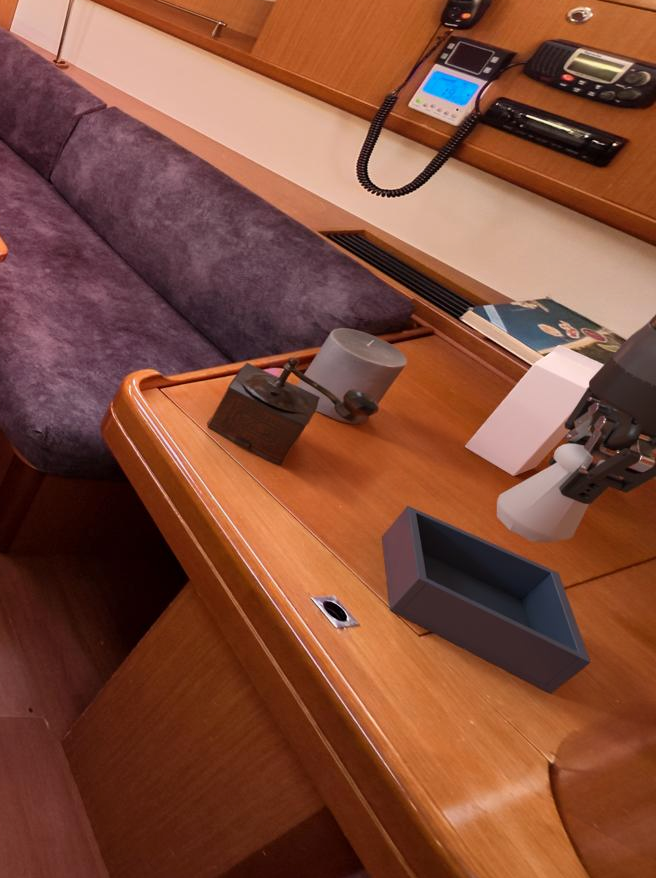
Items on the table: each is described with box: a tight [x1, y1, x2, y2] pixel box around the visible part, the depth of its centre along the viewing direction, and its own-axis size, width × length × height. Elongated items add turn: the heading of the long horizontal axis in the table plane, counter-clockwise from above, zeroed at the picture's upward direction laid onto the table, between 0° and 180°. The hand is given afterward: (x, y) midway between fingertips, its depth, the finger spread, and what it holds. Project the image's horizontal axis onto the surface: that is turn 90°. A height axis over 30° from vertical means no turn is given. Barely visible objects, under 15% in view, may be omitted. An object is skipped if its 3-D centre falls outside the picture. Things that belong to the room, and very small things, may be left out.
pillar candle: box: [296, 327, 408, 425], centre depth 109 cm, size 10×10×15 cm
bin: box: [381, 505, 591, 695], centre depth 80 cm, size 14×14×7 cm
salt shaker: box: [496, 443, 605, 544], centre depth 73 cm, size 6×6×13 cm
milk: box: [464, 345, 605, 477], centre depth 98 cm, size 6×6×22 cm
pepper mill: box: [206, 356, 379, 466], centre depth 100 cm, size 16×11×18 cm
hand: (567, 483), depth 72 cm, fingers closed on salt shaker, 4 cm apart
